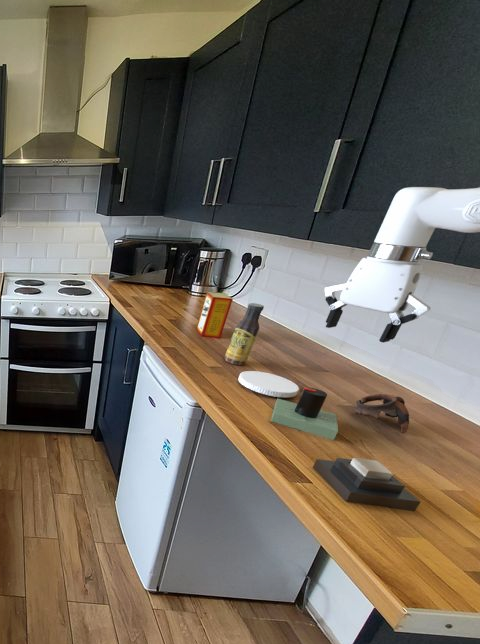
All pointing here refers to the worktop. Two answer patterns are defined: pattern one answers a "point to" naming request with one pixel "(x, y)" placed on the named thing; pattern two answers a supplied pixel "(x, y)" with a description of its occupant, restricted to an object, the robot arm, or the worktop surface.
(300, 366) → the worktop surface
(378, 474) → the key
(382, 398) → the brown looped piece
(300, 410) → the dial
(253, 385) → the plastic lid
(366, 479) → the tiered square pedestal
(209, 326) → the baking soda box
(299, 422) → the volume panel
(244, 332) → the sauce bottle
